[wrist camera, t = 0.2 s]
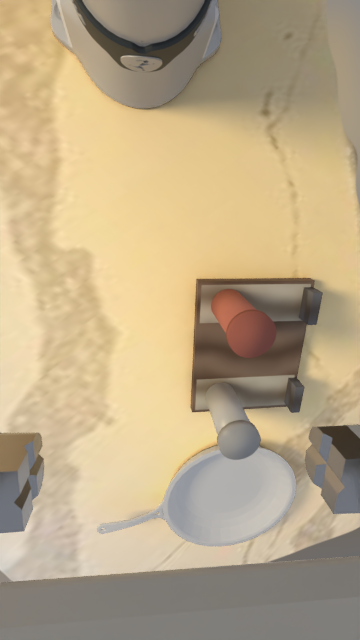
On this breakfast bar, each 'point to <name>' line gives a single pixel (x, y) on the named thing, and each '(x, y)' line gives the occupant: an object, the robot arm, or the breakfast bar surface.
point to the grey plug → (231, 423)
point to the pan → (223, 498)
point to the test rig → (267, 369)
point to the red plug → (243, 324)
